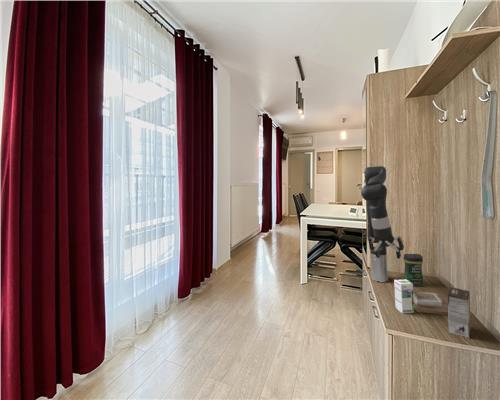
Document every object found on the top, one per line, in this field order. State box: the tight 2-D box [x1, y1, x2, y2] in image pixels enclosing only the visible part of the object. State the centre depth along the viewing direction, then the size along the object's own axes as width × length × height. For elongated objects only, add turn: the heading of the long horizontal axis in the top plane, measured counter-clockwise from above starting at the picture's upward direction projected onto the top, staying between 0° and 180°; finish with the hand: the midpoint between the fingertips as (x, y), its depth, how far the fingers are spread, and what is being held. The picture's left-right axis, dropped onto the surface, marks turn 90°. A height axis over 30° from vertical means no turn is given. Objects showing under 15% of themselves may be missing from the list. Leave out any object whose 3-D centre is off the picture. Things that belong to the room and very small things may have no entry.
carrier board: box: [414, 293, 448, 316], centre depth 119 cm, size 20×14×2 cm
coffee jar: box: [402, 253, 424, 287], centre depth 142 cm, size 10×8×19 cm
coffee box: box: [447, 286, 471, 339], centre depth 97 cm, size 9×6×16 cm
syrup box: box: [393, 278, 415, 314], centre depth 114 cm, size 6×6×14 cm
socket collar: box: [413, 290, 442, 308], centre depth 118 cm, size 10×10×3 cm
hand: (388, 257), depth 113 cm, fingers open, 8 cm apart
